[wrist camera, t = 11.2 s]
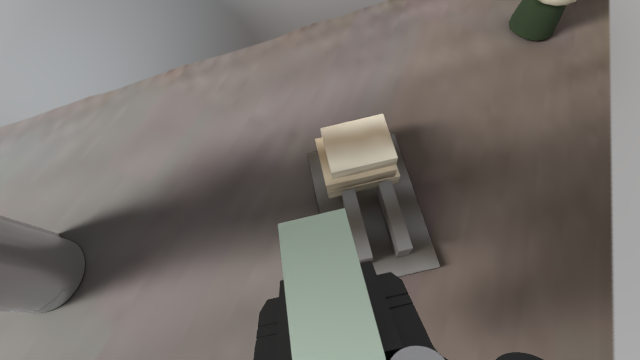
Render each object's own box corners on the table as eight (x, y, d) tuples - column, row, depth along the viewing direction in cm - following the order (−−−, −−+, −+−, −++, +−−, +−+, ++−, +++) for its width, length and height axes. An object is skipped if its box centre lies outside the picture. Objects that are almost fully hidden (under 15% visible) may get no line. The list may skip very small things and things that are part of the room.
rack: (438, 268, 40) (453, 257, 33) (337, 291, 40) (333, 284, 34) (393, 136, 47) (398, 107, 41) (307, 156, 47) (300, 130, 41)
